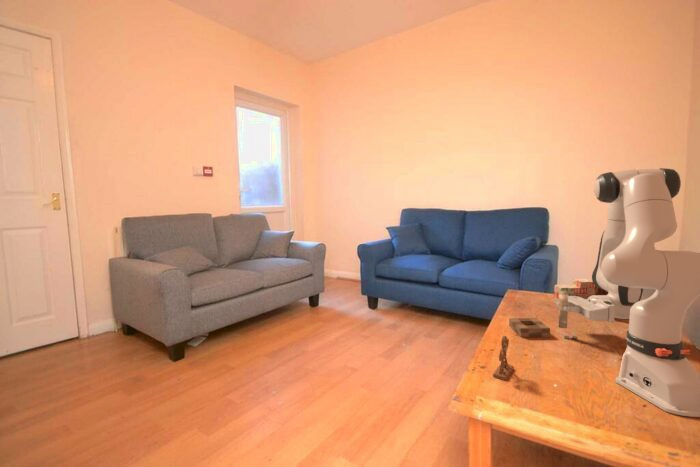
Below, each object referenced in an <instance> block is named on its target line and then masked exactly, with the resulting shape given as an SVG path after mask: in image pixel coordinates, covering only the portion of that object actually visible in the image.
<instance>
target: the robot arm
mask: <svg viewBox="0 0 700 467" xmlns="http://www.w3.org/2000/svg"><path fill="white" fill-rule="evenodd" d="M681 186H682V180H681V177H680V174H679V172H678V171H676V170H675V169H674V168H673V169H672V168H664V167H662V168H661V167H660V168H658V169H657V168H649V169H648V168H646V169H645V168H643V169H635V168H633V169H626V170H625V169H624V170H620V171H619V170H618V171H614V172H612V171H608V172H603V173H601V174H599V176H598V177H597V178H596V180H595V181H594V185H593V192H594V195H595V197H596V199H597V200H598V201H599V202H601V203H606V204H608V209H607V220H606V227H605V229H604V231H603V232H602V235H601V238H600V243H599V247H598V254H597V260H596V264H595V267H594V269H593V271H592V274H591V279H592V281H593V283H594V284H595V286H597V287H598V288H601V289H603V290H606V291H608V295H591V296H590V297H589V298H588V299H584V298H581V297H578V296H568V306H563V310H564V311H567V312H568V313H569V312H571V313H576V314H579V315H580V316H583V317H584V318H587V319H588V320H591V321H600V322H608V323H614V322H615V318H616V319H621V320H622V319H625V320H627V319H628V330H626V334H625V344H626V348H625V351H624V352H623V355H622V358H621V363H620V368H619V372H618V375H617V376H616V377H615V383H616V384H618V385H620V386H622V387H623V388H625V389H627V390H629V391H630V392H632V393H634V394H636V395H637V396H639V397H640V398H642V399H643V400H645V401H647V402H649V403H651V404H653V405H654V406H656V407H657V408H660V409H661V410H662V411H664V412H666V413H669V414H673V415H678V416H682V417H689V418H690V417H691V418H700V373H699V372H698V370H697V369H696V368H695V367H694V366H693V365H692V363H691V362H690V361H689V360H688V358H687V355H691V353H690V352H691V350H690V349H685V345H684V343H683V341H682V332H683V324H684V320H685V316H686V314H687V311H688V310H689V308H690V307H691V305H692V304H694V303H695V301H696V300H697V299H698V298H700V252H695V251H691V250H658V249H656V247H655V244H656V243H660V242H661V241H663V240H666V239H668V238H670V237H672V236H673V235H674V234H675V233H676V232H677V229H678V223H677V219H676V212H675V208H674V204H673V198H675V197H676V196H678V194H679V192H680V190H681ZM645 289H647V290H655V291H654V292H653V293H652V294H651V295H650V296H649V297H647V298H645V296H644V290H645ZM556 307H557V308H559V303H557V304H556Z"/></svg>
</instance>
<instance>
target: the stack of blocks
mask: <svg viewBox="0 0 700 467" xmlns="http://www.w3.org/2000/svg"><path fill="white" fill-rule="evenodd" d="M572 282H573V283H572V284H554V291H553V303H555V304H556V305H557V303H559V295H560V291H566V292H568V296H578V297H581V298H584V299H588V298H589V297H590V296H591V295H593V289H594V283H593V281H592V278H574V279H573V281H572Z"/></svg>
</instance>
